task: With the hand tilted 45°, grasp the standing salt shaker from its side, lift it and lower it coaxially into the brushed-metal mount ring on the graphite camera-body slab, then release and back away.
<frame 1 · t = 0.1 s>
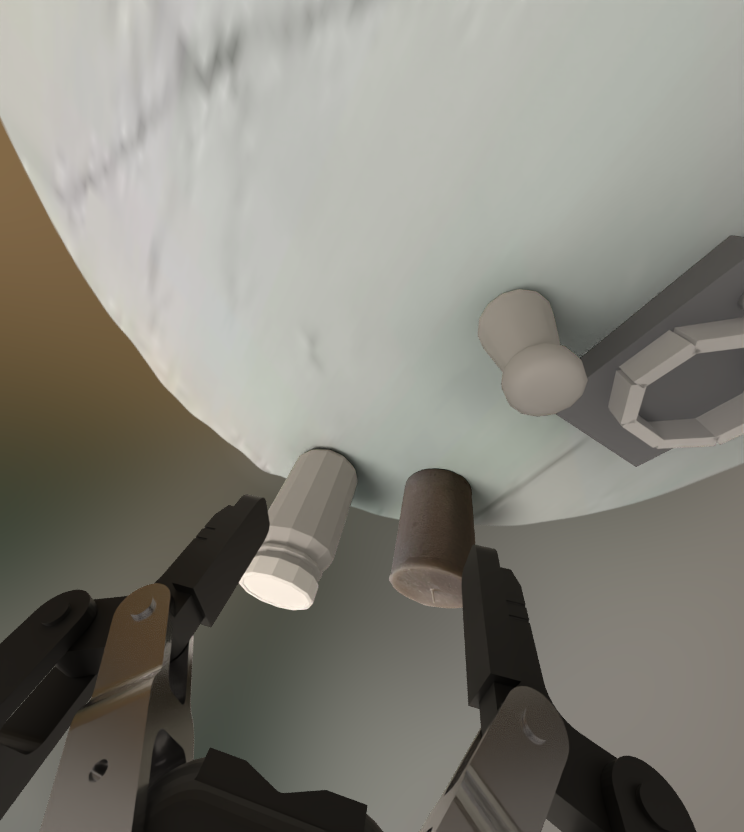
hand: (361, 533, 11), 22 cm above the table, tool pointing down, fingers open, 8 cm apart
salt shaker: (508, 316, 26), on the table
jar: (329, 467, 44), on the table
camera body: (664, 365, 26), on the table
pillar candle: (436, 489, 43), on the table
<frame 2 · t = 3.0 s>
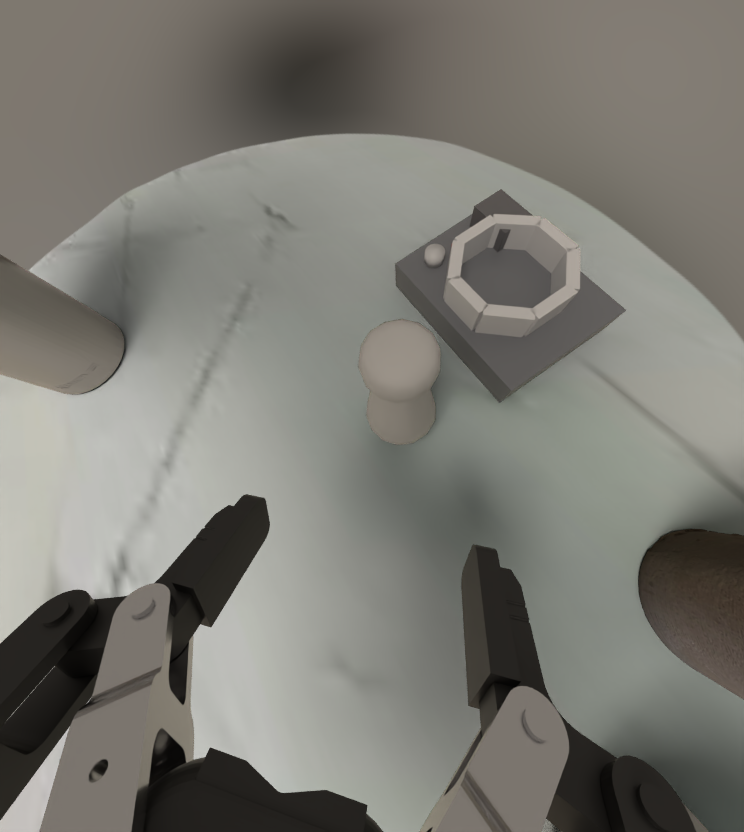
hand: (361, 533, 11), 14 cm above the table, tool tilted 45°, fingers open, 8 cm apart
salt shaker: (400, 418, 27), on the table
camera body: (492, 306, 28), on the table
pillar candle: (709, 601, 21), on the table
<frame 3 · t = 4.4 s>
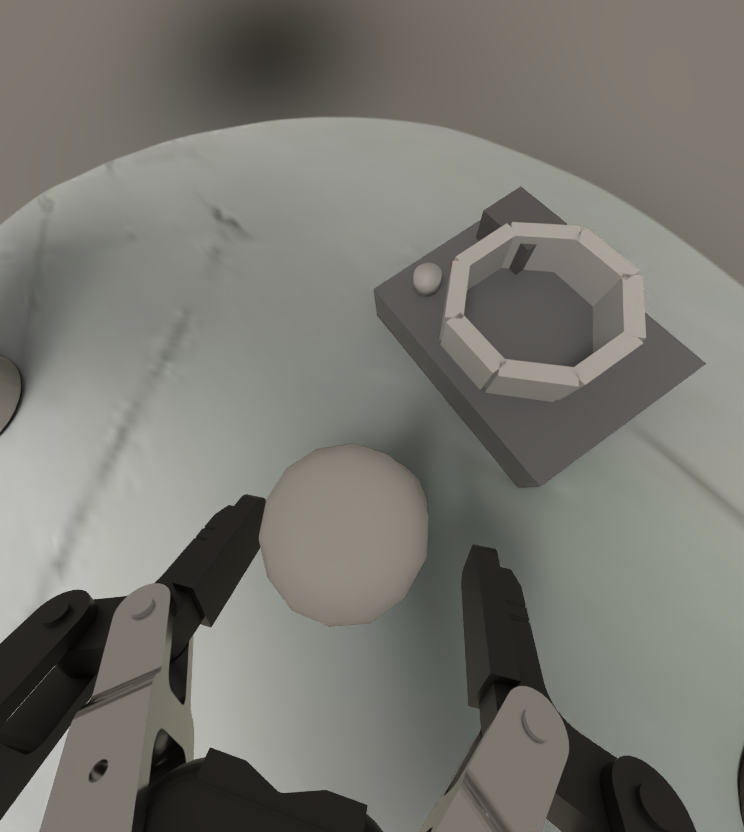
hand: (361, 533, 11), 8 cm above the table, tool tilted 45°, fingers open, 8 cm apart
salt shaker: (380, 506, 19), on the table
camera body: (506, 346, 21), on the table
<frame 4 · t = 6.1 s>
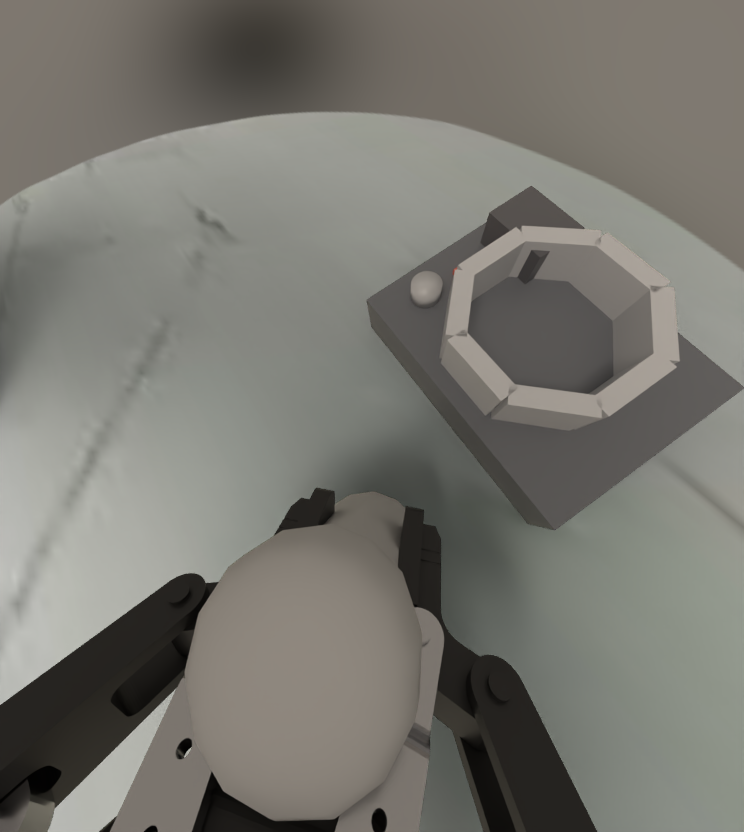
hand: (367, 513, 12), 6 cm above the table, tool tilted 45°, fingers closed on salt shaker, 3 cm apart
salt shaker: (372, 542, 17), on the table, touching gripper
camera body: (514, 362, 19), on the table
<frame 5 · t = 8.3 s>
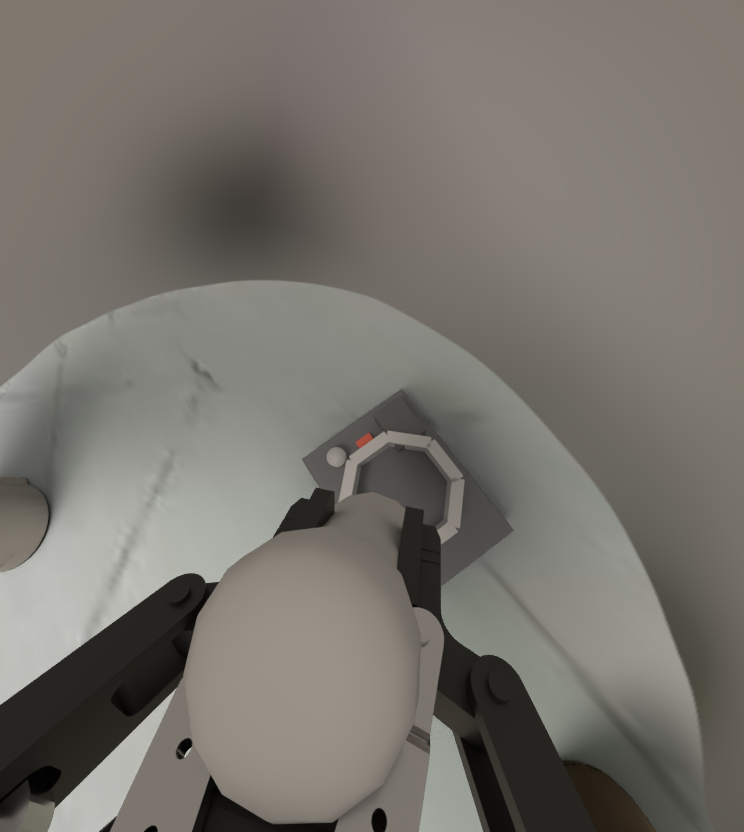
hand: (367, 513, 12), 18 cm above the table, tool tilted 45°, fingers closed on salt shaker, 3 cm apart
salt shaker: (372, 543, 17), point 12 cm above the table, touching gripper
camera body: (400, 492, 29), on the table
when the fingers open (10 cm above the table, at t = 10.8 s): salt shaker stays where it is, resting on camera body.
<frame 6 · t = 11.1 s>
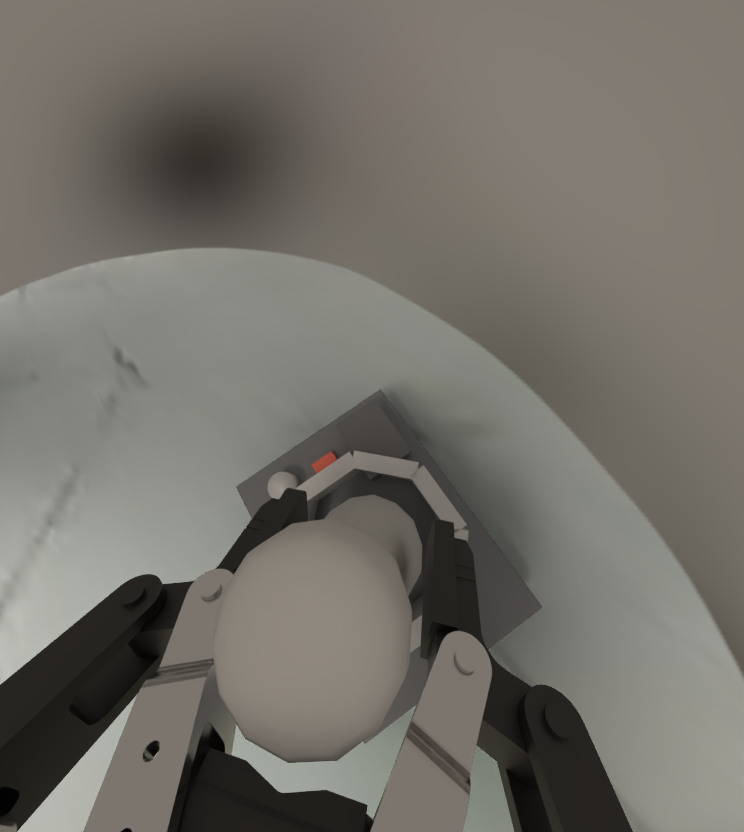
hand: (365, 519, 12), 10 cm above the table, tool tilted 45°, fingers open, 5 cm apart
salt shaker: (372, 544, 18), point 3 cm above the table, touching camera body
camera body: (377, 534, 21), on the table
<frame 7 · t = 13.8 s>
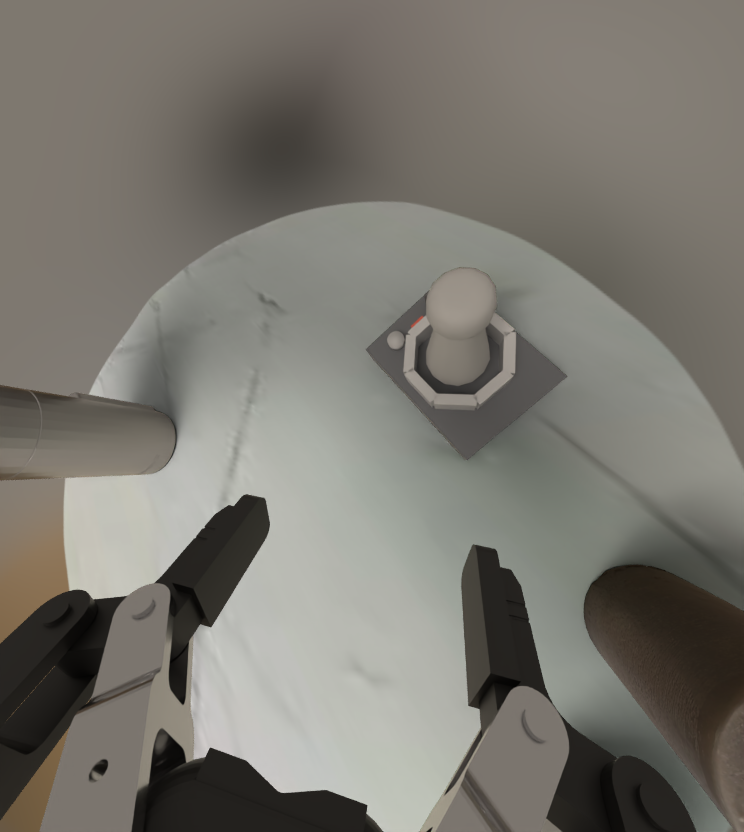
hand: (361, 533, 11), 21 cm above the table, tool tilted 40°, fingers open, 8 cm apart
salt shaker: (456, 364, 30), point 3 cm above the table, touching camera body
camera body: (456, 370, 32), on the table
pillar candle: (646, 624, 25), on the table
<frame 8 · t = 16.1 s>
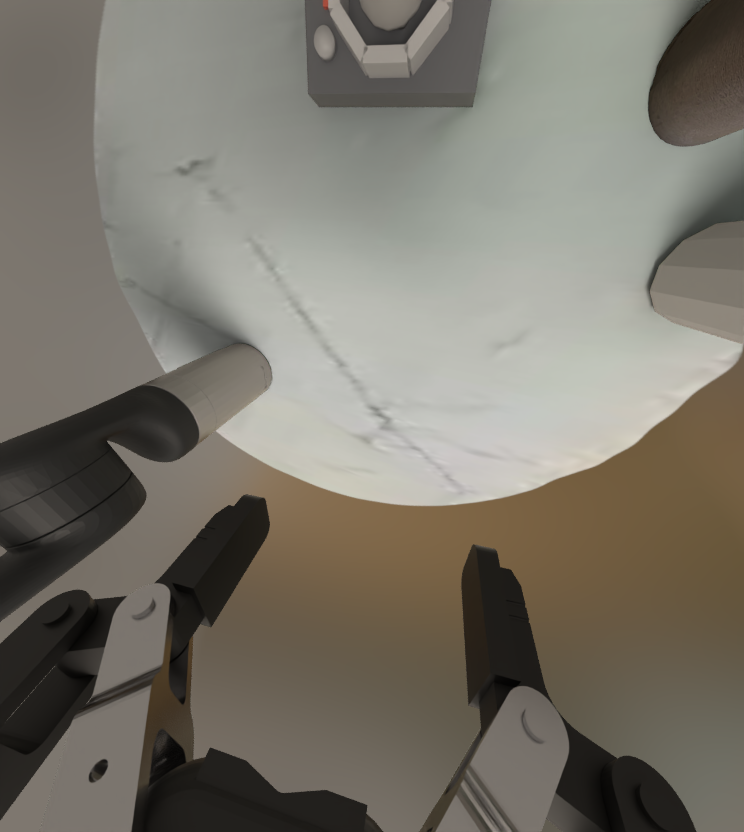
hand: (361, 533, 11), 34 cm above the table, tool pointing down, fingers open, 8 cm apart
jar: (698, 275, 31), on the table
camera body: (399, 15, 27), on the table
pillar candle: (716, 75, 25), on the table
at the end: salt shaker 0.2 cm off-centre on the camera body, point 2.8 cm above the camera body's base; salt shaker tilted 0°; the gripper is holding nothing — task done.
